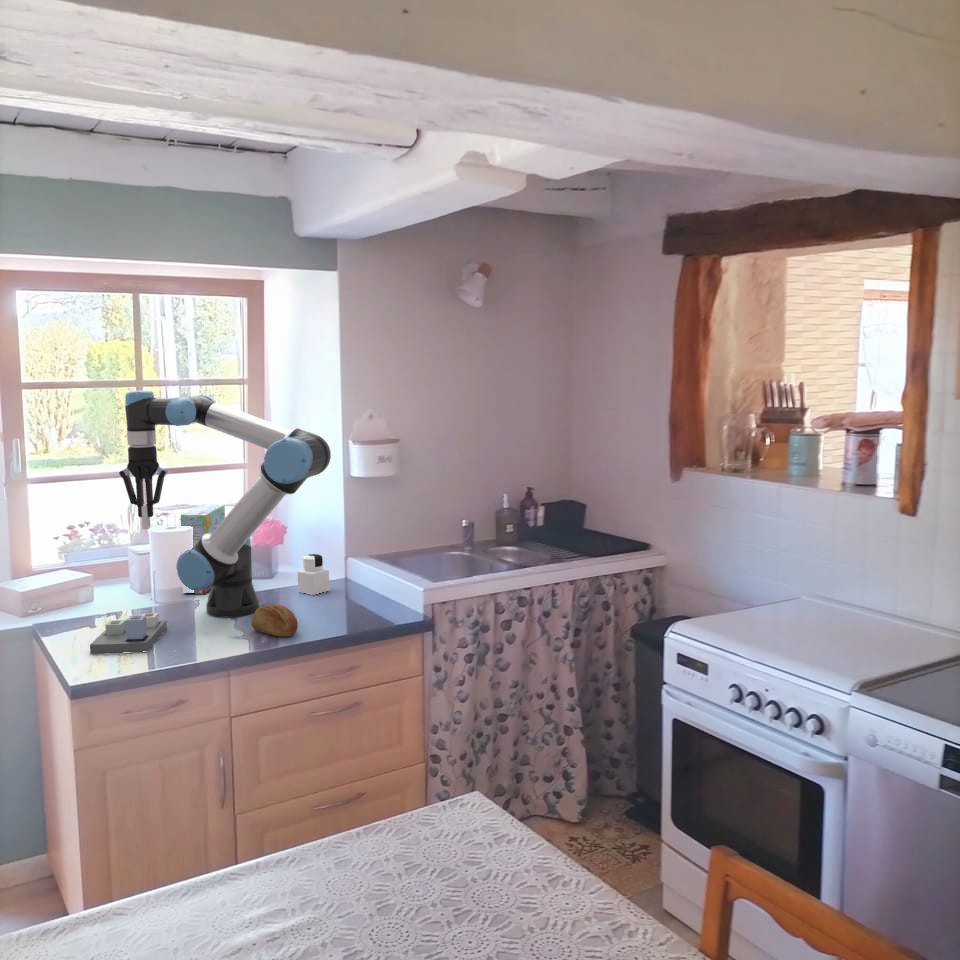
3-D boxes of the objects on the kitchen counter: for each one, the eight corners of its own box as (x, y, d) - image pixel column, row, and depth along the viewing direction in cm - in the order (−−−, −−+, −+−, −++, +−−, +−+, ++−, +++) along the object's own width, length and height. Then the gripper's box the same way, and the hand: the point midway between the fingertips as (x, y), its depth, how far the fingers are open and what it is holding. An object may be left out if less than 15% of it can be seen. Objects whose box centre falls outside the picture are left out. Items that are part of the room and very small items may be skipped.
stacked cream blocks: (314, 588, 294) (313, 551, 292) (329, 591, 290) (328, 554, 288) (297, 592, 288) (296, 555, 287) (313, 596, 284) (312, 558, 282)
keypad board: (166, 628, 250) (166, 620, 250) (147, 652, 231) (146, 642, 230) (114, 630, 249) (114, 621, 249) (90, 654, 229) (89, 644, 229)
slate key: (146, 634, 236) (145, 614, 235) (142, 638, 232) (141, 619, 231) (131, 634, 236) (130, 615, 235) (126, 639, 232) (125, 619, 231)
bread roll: (280, 643, 238) (279, 613, 237) (242, 633, 246) (241, 605, 245) (306, 634, 246) (305, 605, 245) (269, 625, 254) (268, 597, 253)
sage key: (126, 638, 242) (125, 619, 241) (122, 642, 238) (121, 623, 237) (111, 638, 241) (110, 619, 240) (106, 643, 237) (105, 624, 237)
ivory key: (159, 630, 248) (158, 612, 247) (155, 635, 244) (154, 616, 243) (144, 631, 248) (143, 612, 247) (140, 635, 244) (139, 616, 243)
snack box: (208, 594, 286) (205, 514, 282) (181, 594, 286) (177, 514, 282) (228, 578, 307) (225, 503, 304) (203, 578, 308) (199, 503, 304)
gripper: (169, 444, 258) (173, 525, 261) (122, 444, 257) (126, 526, 260) (162, 446, 250) (166, 530, 254) (113, 447, 249) (118, 531, 253)
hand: (146, 528), depth 257 cm, fingers closed
